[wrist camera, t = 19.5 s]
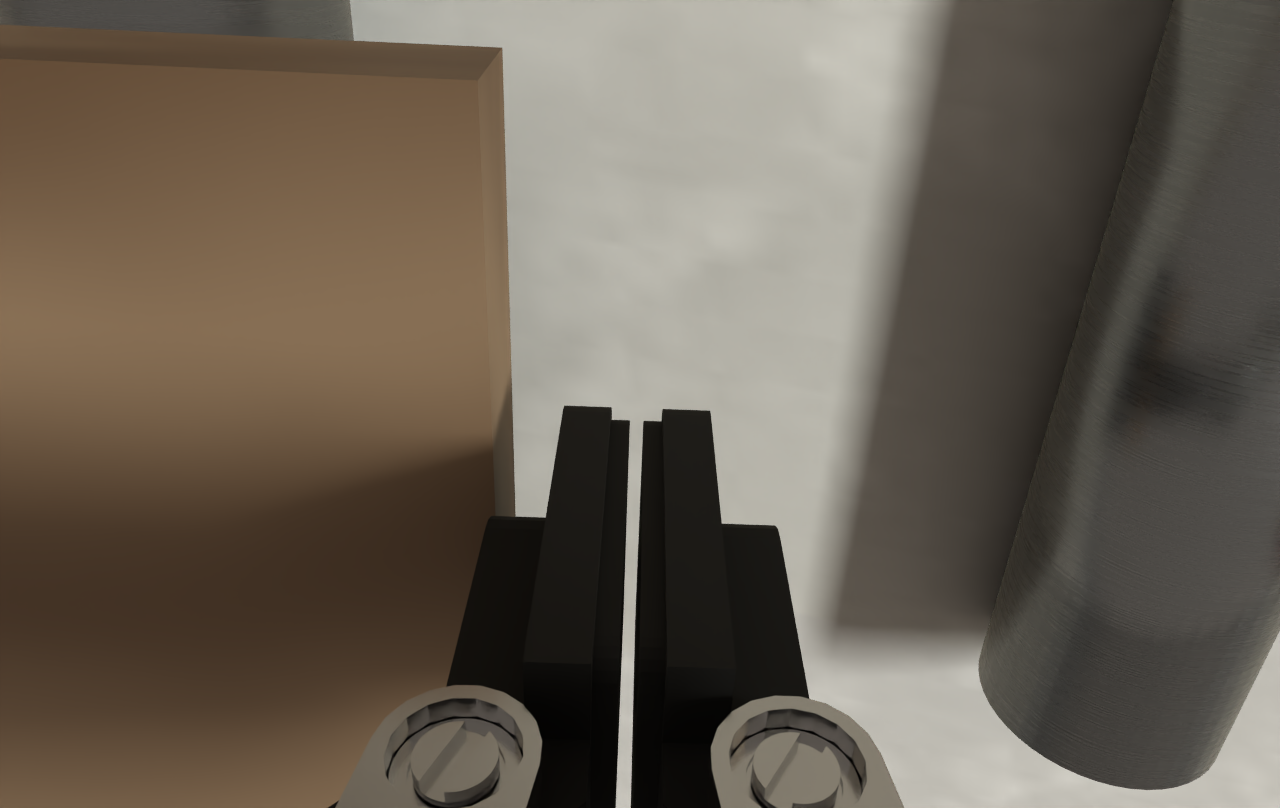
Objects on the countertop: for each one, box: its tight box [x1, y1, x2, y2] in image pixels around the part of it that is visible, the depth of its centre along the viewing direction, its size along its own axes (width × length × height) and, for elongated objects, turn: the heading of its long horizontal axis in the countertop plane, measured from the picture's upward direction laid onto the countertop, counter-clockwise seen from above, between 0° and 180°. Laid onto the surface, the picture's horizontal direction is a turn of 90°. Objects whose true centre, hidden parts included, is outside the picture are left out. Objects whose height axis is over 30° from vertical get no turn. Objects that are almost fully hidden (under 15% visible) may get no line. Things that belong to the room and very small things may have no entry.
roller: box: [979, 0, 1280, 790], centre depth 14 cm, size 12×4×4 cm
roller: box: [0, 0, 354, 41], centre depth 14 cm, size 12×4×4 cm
